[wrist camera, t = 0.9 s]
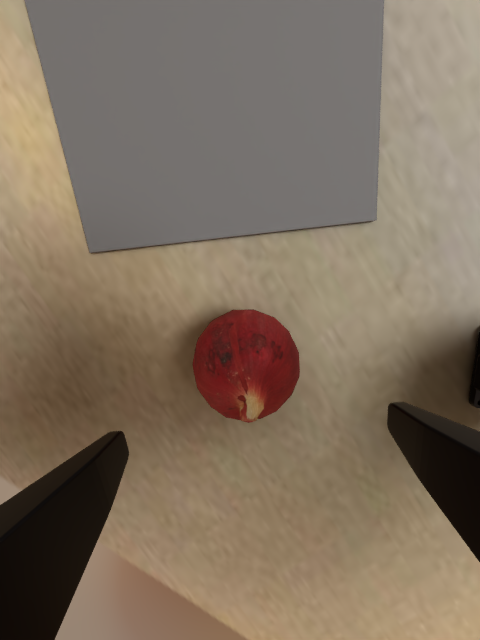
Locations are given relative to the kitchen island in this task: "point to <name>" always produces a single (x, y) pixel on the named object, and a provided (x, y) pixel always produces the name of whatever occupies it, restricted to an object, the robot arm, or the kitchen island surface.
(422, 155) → the kitchen island surface
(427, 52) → the kitchen island surface
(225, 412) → the onion
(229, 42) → the mat
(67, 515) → the robot arm
